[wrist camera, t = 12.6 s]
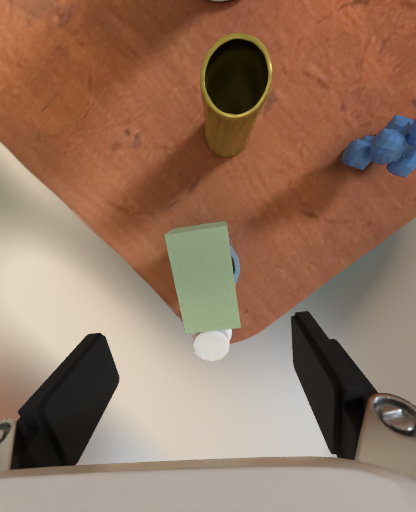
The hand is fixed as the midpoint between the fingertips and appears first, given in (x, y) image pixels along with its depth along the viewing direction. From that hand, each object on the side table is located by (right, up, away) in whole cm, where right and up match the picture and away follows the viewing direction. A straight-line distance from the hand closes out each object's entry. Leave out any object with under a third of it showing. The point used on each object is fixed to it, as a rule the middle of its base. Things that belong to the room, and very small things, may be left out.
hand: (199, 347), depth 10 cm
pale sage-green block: (0, +3, +15) cm, 15 cm away
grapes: (+22, +18, +19) cm, 34 cm away
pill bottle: (+1, -4, +26) cm, 27 cm away
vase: (+3, +21, +19) cm, 29 cm away
